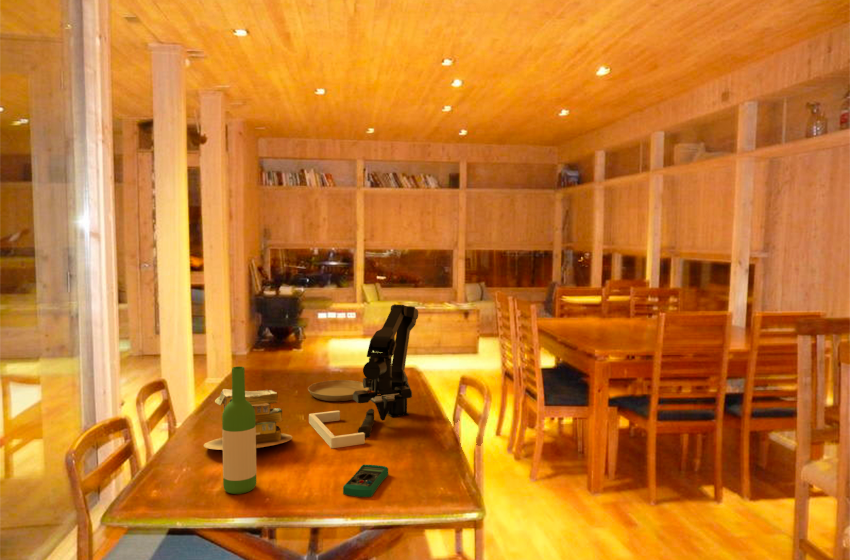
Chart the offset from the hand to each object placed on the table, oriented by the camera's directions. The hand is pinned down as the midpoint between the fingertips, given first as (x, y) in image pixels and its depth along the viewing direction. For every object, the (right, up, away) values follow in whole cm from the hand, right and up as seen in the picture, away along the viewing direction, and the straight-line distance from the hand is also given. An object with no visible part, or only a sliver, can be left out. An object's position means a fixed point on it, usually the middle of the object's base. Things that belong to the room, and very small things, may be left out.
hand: (382, 420), depth 195 cm
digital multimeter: (-1, -6, -46) cm, 47 cm away
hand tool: (-5, -3, -2) cm, 6 cm away
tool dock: (-14, -2, -6) cm, 16 cm away
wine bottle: (-31, -5, -50) cm, 59 cm away
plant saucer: (-20, 0, +40) cm, 45 cm away
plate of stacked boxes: (-38, -3, -20) cm, 43 cm away
